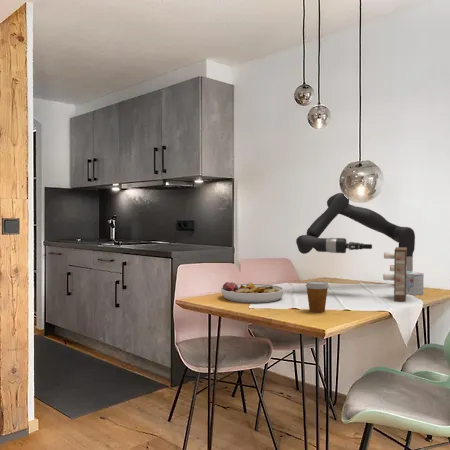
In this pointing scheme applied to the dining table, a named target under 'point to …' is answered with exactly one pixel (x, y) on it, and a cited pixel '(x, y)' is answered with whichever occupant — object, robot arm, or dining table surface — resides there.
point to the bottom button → (388, 277)
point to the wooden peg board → (400, 274)
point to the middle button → (393, 267)
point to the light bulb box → (414, 283)
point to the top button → (389, 255)
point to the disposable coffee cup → (317, 295)
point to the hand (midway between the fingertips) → (371, 246)
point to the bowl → (251, 292)
